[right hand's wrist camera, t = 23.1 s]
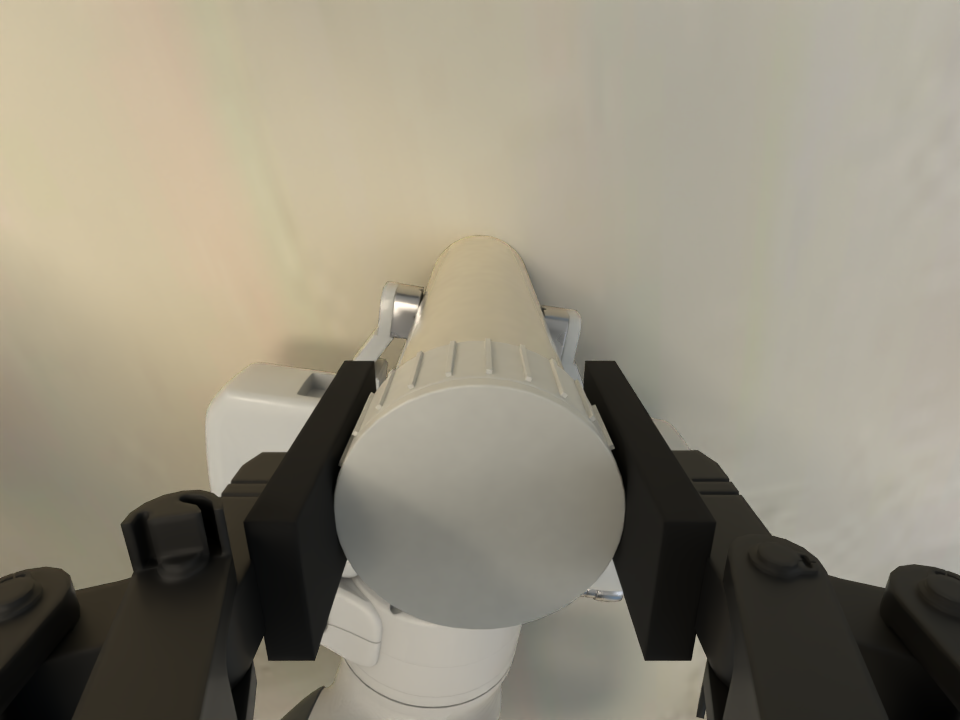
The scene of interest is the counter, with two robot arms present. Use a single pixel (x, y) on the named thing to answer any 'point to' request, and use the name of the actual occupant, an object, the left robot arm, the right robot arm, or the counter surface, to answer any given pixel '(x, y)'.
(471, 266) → the jar
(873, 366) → the counter surface
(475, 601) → the lid
